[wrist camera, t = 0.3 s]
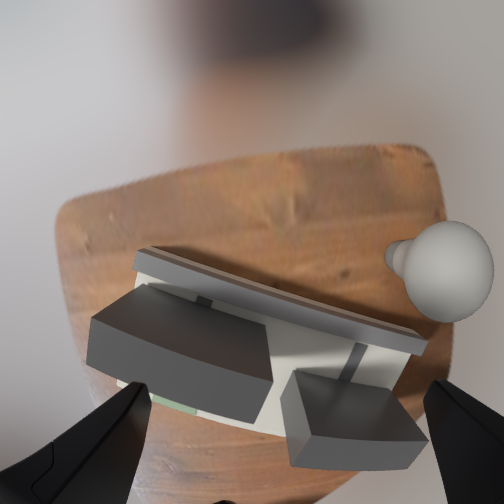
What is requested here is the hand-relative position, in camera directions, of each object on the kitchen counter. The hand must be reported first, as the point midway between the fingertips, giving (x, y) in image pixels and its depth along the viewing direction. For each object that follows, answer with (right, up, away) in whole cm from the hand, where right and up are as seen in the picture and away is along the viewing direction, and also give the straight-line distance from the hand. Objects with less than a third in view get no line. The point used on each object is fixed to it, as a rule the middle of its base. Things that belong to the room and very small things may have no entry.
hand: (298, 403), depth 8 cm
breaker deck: (0, -5, +16) cm, 17 cm away
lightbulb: (+10, +4, +15) cm, 19 cm away
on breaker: (-5, -1, +14) cm, 15 cm away
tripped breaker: (+6, -8, +15) cm, 18 cm away
